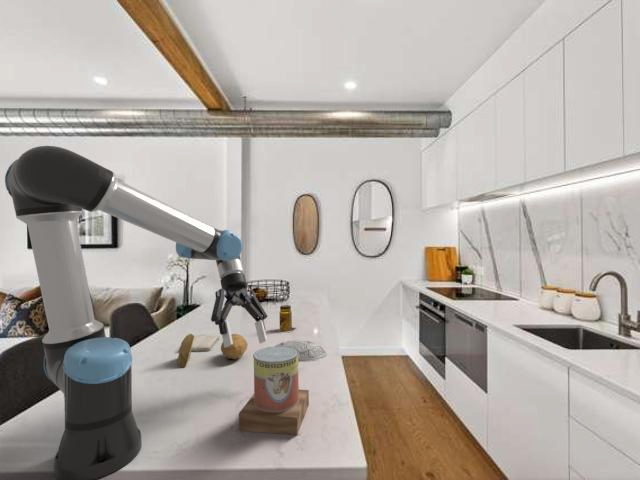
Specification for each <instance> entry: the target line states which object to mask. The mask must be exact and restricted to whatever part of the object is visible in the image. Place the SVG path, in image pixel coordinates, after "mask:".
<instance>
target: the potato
mask: <svg viewBox="0 0 640 480" xmlns="http://www.w3.org/2000/svg"><path fill="white" fill-rule="evenodd" d="M231 336H232V341H233V344H232V345H230V346H228V347H225V348H224V342H223V341H222V343H221V345H220V351H221V353H222V355H223V356H225V357H226V358H227V359H230V360H235V361H236V360H237V359H239V358H241V357H242V356H243V355H244V354H245V352H246V351H247V349H248V342H247V340H246V339H245V337H244V336H243V335H241V334H239V333H231Z"/></svg>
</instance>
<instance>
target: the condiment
mask: <svg viewBox="0 0 640 480" xmlns="http://www.w3.org/2000/svg"><path fill="white" fill-rule="evenodd" d="M279 307H280V308H279V329H278V330H277V332H282V333H291V332H293V331H294V330H296V329H297V327H293V322H292V321H293V314H292V313H293V312H292V306H291V305H290V304H286V305H285V304H284V305H280V306H279Z"/></svg>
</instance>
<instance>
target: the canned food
mask: <svg viewBox="0 0 640 480" xmlns="http://www.w3.org/2000/svg"><path fill="white" fill-rule="evenodd" d="M274 346H275V347H274ZM274 346H269V347H268V346H267V347H263V348H261V349H258V350H256V351H254V353H253V390H254V391H253V394H254V405H255V407H256V408H257V409H259V410H261V411H265V412H282V411H286V410H289V409H291V408H293V407H295V406H296V405H297V404H298V402H299V390H300V389H299V386H300V385H299V361H298V351H297V350H296V349H294V348H291V347H284V346H276V345H274Z"/></svg>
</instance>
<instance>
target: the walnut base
mask: <svg viewBox="0 0 640 480" xmlns="http://www.w3.org/2000/svg"><path fill="white" fill-rule="evenodd" d="M309 394H310V393H309V389H299V402H298V404H297V405H296V406H295V407H293V408H291V409H289V410H286V411H282V412H265V411H261V410H259V409H257V408H256V407H255V405H254V393H253V394H252V396H250V398H249V399H248V401H247V402H246V403H245V405H244V406H243V408H242V409H241V410H240V411H239V413H238V430H239V431H242V432H243V431H244V432H253V433H254V432H255V433H267V434H268V433H269V434H281V435H292V436H295V435H296V436H298V435H299V431H300V429H301V426H302V424H303V421H304V418H305V416H306V413H307V411H308V408H309V405H310V404H309V402H310V398H309V397H310V396H309Z"/></svg>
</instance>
